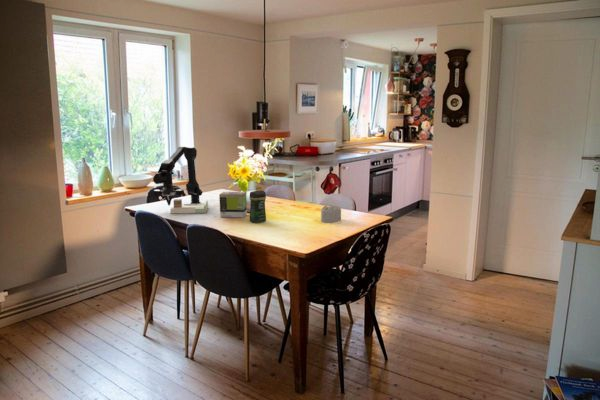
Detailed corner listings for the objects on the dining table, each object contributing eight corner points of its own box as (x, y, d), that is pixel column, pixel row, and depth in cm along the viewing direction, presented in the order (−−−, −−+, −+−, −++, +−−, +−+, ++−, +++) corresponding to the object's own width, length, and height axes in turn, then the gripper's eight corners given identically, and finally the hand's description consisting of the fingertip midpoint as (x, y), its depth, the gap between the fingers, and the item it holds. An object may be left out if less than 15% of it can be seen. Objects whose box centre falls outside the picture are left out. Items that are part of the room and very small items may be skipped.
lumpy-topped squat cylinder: (343, 219, 285) (343, 205, 284) (331, 224, 275) (332, 209, 273) (328, 217, 291) (328, 203, 289) (316, 221, 281) (317, 207, 279)
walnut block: (174, 206, 308) (174, 199, 308) (181, 205, 309) (181, 199, 308) (173, 207, 304) (173, 200, 303) (180, 207, 304) (180, 200, 304)
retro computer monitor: (247, 214, 299) (246, 191, 296) (243, 218, 289) (243, 194, 286) (223, 213, 300) (223, 191, 297) (219, 217, 290) (219, 193, 288)
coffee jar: (255, 224, 274) (255, 192, 271) (247, 221, 280) (246, 190, 276) (268, 221, 281) (268, 190, 277) (260, 218, 287) (259, 188, 283)
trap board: (174, 208, 315) (174, 201, 314) (207, 207, 317) (207, 200, 316) (170, 214, 299) (170, 206, 298) (205, 213, 301) (205, 205, 300)
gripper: (150, 184, 294) (151, 208, 297) (180, 183, 296) (182, 207, 299) (153, 181, 305) (155, 204, 308) (183, 180, 307) (184, 204, 310)
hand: (169, 205), depth 306 cm, fingers closed
